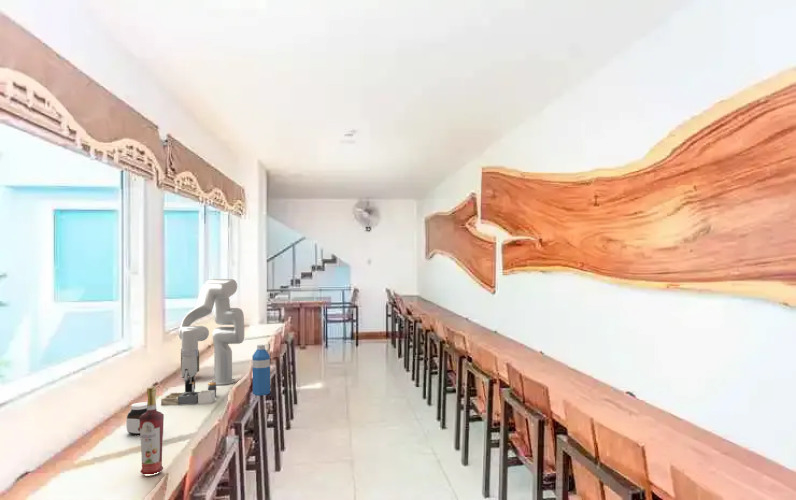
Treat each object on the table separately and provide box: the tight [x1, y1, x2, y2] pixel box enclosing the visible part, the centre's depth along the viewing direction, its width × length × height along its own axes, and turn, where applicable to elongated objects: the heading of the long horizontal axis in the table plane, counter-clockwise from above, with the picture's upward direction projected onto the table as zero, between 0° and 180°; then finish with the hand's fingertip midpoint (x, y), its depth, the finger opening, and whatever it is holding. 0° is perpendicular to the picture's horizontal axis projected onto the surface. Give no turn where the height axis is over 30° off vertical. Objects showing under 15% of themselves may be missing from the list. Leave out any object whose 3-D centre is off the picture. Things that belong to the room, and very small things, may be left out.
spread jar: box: [125, 401, 148, 437], centre depth 232 cm, size 12×11×12 cm
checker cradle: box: [178, 391, 200, 406], centre depth 279 cm, size 9×9×4 cm
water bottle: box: [252, 344, 271, 396], centre depth 295 cm, size 9×9×25 cm
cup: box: [197, 389, 216, 405], centre depth 278 cm, size 6×6×5 cm
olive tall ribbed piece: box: [180, 348, 200, 373], centre depth 333 cm, size 14×9×25 cm, turn 25°
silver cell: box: [186, 382, 196, 396], centre depth 279 cm, size 4×4×7 cm
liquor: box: [139, 386, 165, 475], centre depth 186 cm, size 7×7×28 cm
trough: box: [160, 392, 183, 406], centre depth 280 cm, size 12×8×3 cm, turn 2°
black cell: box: [207, 381, 217, 398], centre depth 289 cm, size 4×4×7 cm
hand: (190, 390), depth 279 cm, fingers closed on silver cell, 4 cm apart
